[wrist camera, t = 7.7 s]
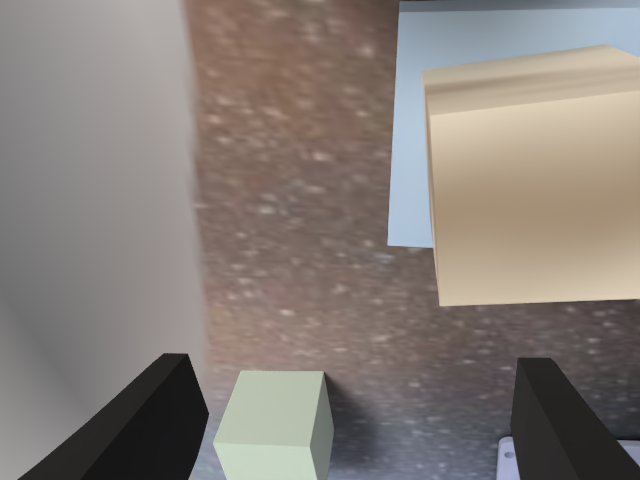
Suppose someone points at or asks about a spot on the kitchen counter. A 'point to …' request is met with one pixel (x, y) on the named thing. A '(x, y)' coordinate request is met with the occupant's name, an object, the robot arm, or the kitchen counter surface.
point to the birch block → (535, 177)
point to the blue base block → (470, 47)
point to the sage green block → (276, 427)
